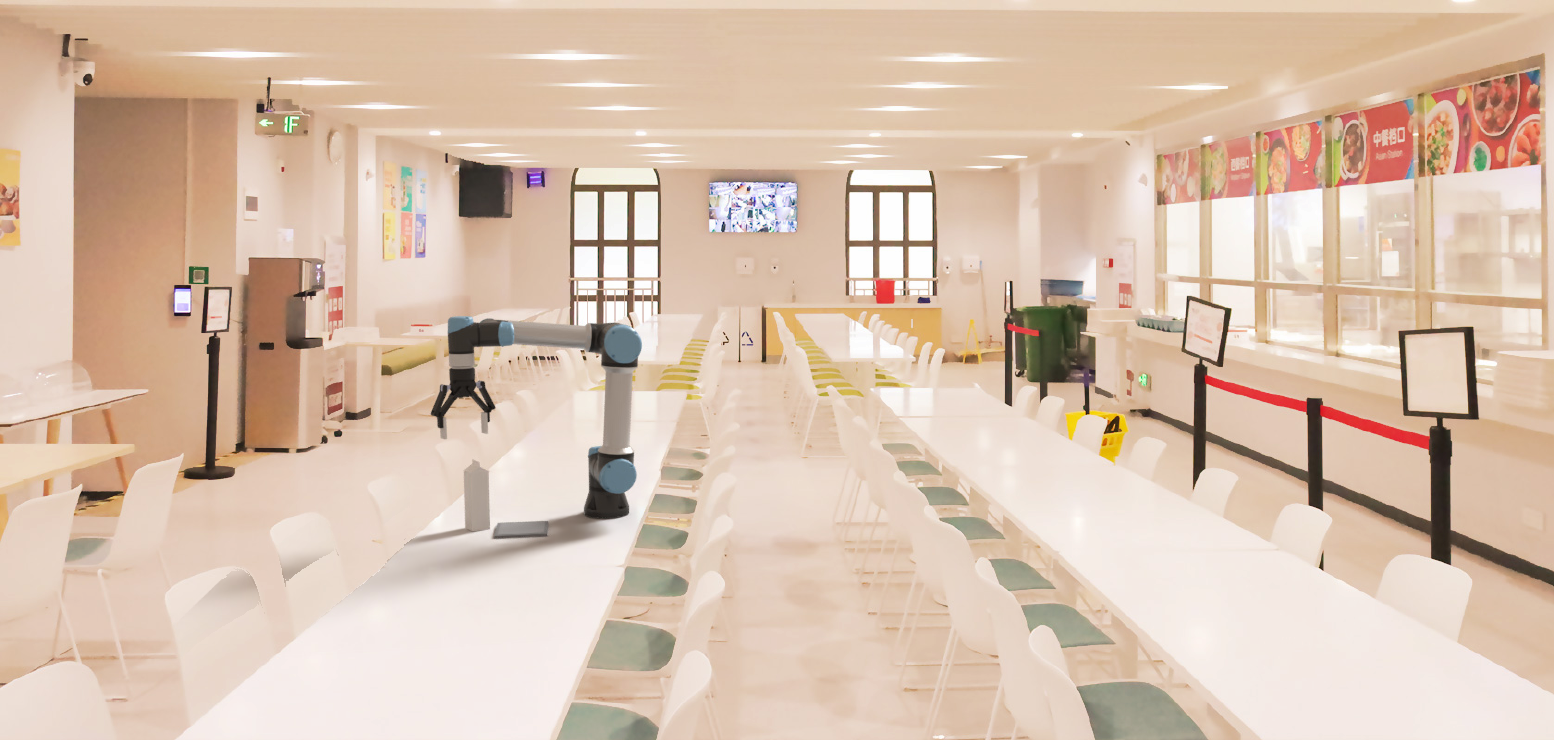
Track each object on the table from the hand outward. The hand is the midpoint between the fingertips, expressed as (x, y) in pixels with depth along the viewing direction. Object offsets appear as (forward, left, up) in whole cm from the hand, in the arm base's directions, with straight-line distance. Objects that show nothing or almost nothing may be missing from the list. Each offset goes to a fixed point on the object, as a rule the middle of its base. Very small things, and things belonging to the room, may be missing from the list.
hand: (464, 436), depth 332 cm
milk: (-2, -9, -32) cm, 33 cm away
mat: (-16, -4, -31) cm, 36 cm away
